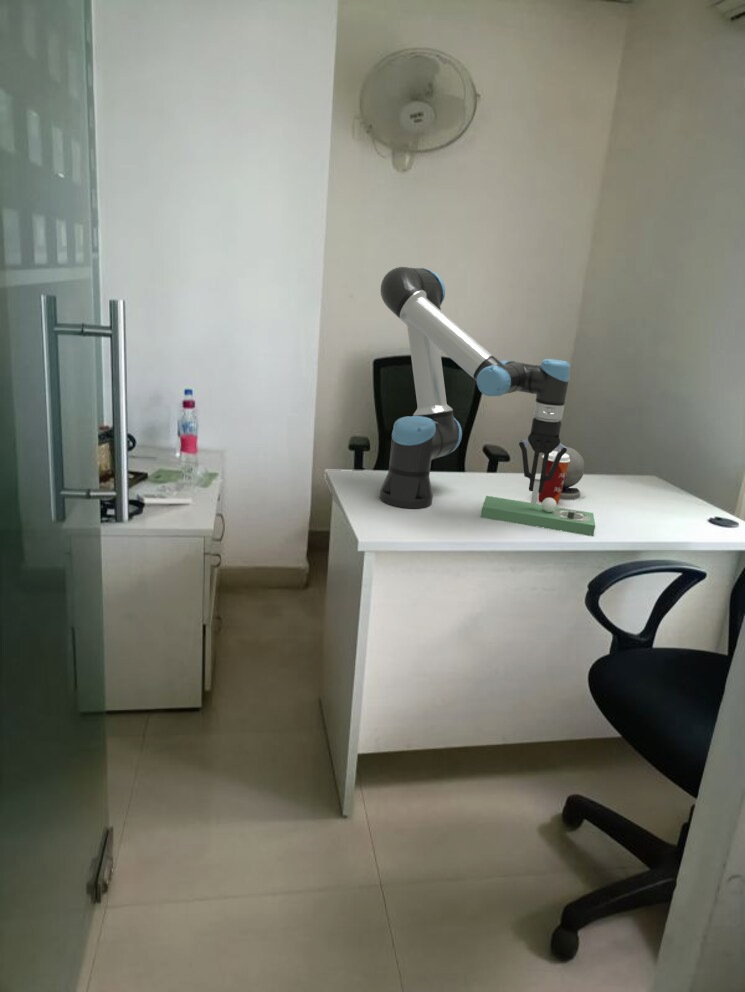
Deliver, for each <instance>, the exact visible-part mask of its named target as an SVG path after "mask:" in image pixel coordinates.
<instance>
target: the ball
mask: <svg viewBox="0 0 745 992" xmlns="http://www.w3.org/2000/svg"><path fill="white" fill-rule="evenodd" d="M541 505H542V508H543V510H544V511H546V512H552V511H554V510H555V509H556V507H558V504H557V503H556V501H555V500H554V499H553V498H546V499H544V500H543V502H542V503H541Z"/></svg>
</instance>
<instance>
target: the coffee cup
mask: <svg viewBox="0 0 745 992" xmlns="http://www.w3.org/2000/svg"><path fill="white" fill-rule="evenodd" d="M557 453H558V452H557V451H552V452H551V453H549V457H548V463H547V469H546V475H548V473H549V471H550V469H551V466H552V464H553V462H554V460H555V457H556V455H557ZM541 458H542V459H543V458H544V454H543V455H541ZM569 462H570V459H569V455H568V454H566V453H565V454H564V455H563V456H562V457H561V459H560V462H559V464H558V466H557V468H556V471H555V473H554V475H553V477H552V479H551V480H550V481H549V480H547V481H545V482H544V487H543V492H542V493H540V492H538V497H537V500H539V501H538V502H539V503H541V504H542V502H543V500H544V499H546V498H553V499H554V500H555V501H556V503H557V505H558V504H559V502H560V500H561V499H560V495H561V491H562V487H563V483H564V479H565V475H566V471H567V467H568V463H569ZM542 464H543V461H542V462H541V465H542Z"/></svg>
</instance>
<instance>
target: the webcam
mask: <svg viewBox="0 0 745 992" xmlns="http://www.w3.org/2000/svg"><path fill="white" fill-rule="evenodd" d="M566 447H567V451H566V454H568V455H569V459H570V462H569V463H568V467H567V471H566V475H565V479H564V483H563V487H562V491H561V495H560V499H559V500H565V501H566V500H568V501H570V500H577V499H579V498H580V494H581V492H580V489H579V488H578V487H573V486H575V485H577V484H578V483H579V482H581V479H582V478H583V477H584V476H583V475H584V473H585V465H586V464H585V461H584V458H583V456H582V455H581V454H580V452H578V451H577V450H576V449H574V448H573V447H572V448H571V447H570V446H569V447H568V446H566ZM557 449H558V446H557V447H556V448H555V449H554V450H553V451H557ZM557 452H558V451H557Z"/></svg>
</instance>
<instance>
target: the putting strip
mask: <svg viewBox="0 0 745 992" xmlns="http://www.w3.org/2000/svg"><path fill="white" fill-rule="evenodd" d="M480 518H482V519H489V520H496V521H502V522H507V523H512V524H513V523H514V524H519V525H524V524H525V525H526V526H530V525H531V526H532V527H536V526H538V528H542V527H544V528H543V529H548V528H549V529H550V530H554V529H555V530H554V531H560V530H562V531H561V532H566V531H567V532H568V533H574V534H579V535H584V536H590V535H591V537H594V535H595V534H594V533H595V530H596V529H595V528H596V522H595V515H594V512H589V511H583V510H578V509H577V510H576V509H571V508H565V507H559V506H556V509H555V510H554V511H552V512H546V511H544V510H543V508H542V503H541V504H540V503H536V504H531V502H528V501H521V500H515V499H511V498H510V499H508V498H503V497H498V496H492V495H486V496H485V498H484V500H483V504H482V509H481V514H480Z"/></svg>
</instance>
